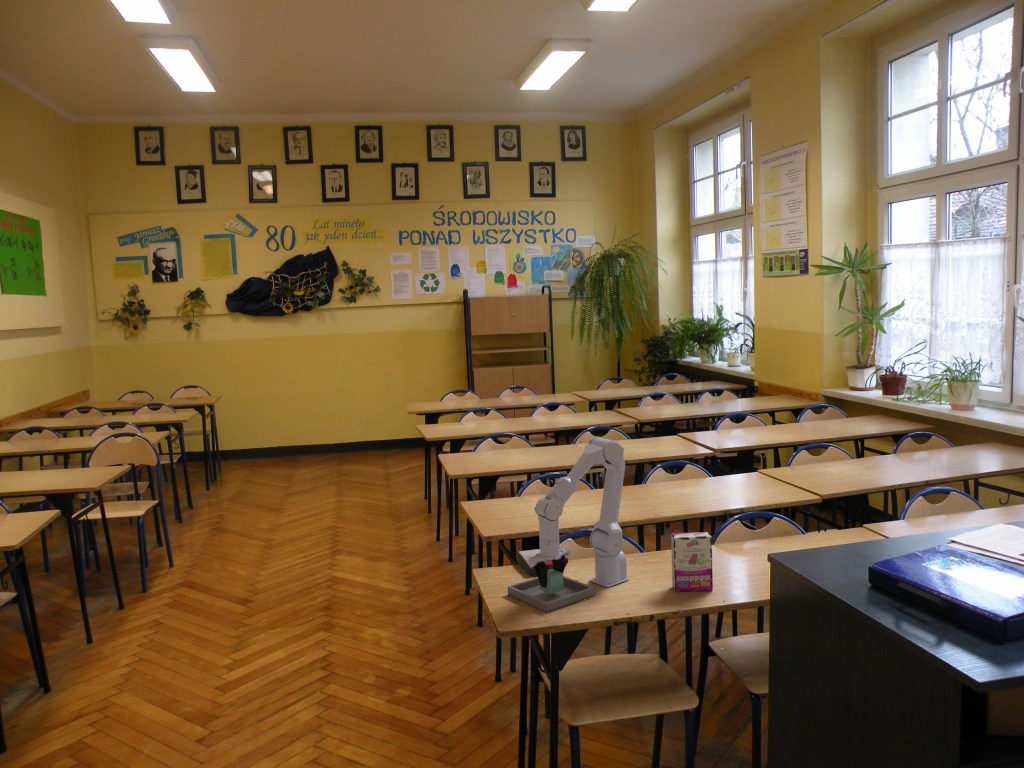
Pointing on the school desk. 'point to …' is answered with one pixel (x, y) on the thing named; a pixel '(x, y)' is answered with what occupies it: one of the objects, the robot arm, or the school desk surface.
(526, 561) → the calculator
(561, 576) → the teal cube
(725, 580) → the school desk surface
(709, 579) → the candy bar box
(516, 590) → the charcoal tray
